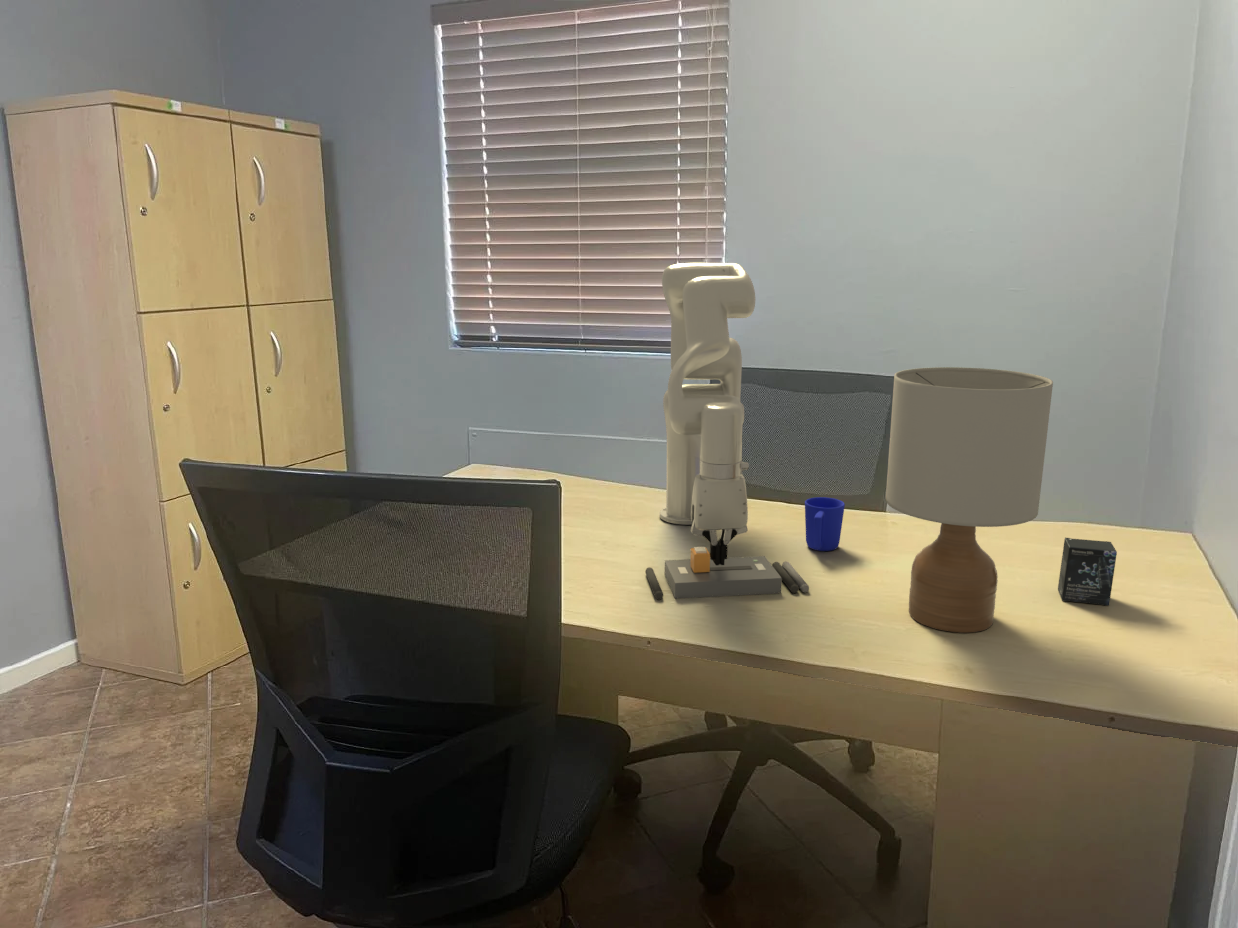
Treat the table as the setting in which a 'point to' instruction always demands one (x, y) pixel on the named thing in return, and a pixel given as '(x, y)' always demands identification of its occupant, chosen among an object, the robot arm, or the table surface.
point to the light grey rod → (795, 576)
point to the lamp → (964, 478)
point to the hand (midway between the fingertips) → (718, 562)
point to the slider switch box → (723, 578)
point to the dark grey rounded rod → (654, 583)
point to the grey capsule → (786, 577)
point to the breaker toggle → (700, 559)
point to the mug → (823, 522)
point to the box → (1087, 571)
